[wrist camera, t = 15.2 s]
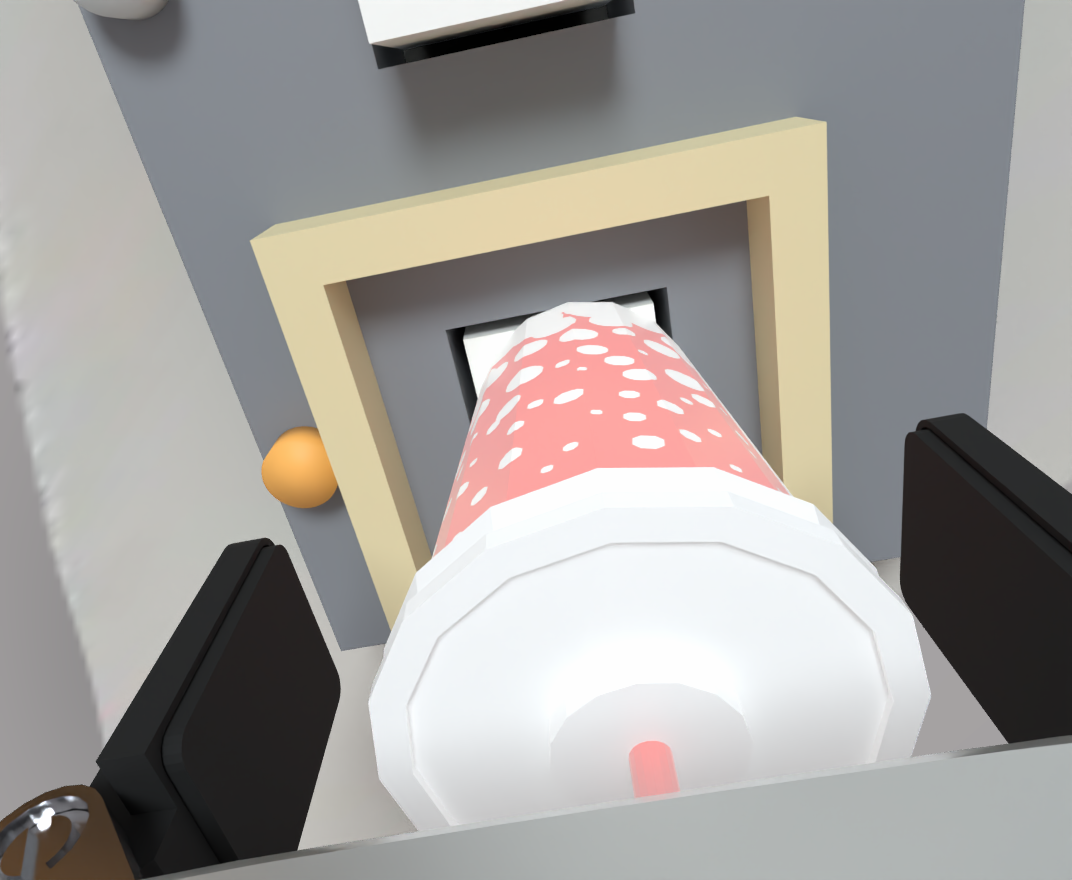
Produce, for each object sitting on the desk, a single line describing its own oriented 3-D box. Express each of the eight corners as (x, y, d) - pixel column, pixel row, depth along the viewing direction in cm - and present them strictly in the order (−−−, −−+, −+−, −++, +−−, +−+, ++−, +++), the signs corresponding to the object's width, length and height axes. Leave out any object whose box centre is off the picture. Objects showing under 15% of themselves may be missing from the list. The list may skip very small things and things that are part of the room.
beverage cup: (387, 368, 16) (-133, 1545, 3) (637, 200, 14) (1430, 1192, 2) (546, 562, 18) (595, 1677, 6) (775, 436, 17) (1533, 1573, 4)
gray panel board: (929, -454, 13) (1174, -763, 8) (900, 465, 22) (1013, 582, 17) (82, -240, 14) (-146, -400, 9) (368, 559, 23) (327, 695, 18)
